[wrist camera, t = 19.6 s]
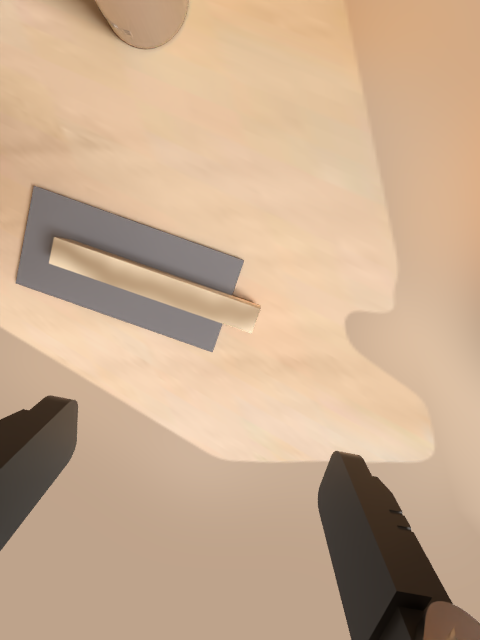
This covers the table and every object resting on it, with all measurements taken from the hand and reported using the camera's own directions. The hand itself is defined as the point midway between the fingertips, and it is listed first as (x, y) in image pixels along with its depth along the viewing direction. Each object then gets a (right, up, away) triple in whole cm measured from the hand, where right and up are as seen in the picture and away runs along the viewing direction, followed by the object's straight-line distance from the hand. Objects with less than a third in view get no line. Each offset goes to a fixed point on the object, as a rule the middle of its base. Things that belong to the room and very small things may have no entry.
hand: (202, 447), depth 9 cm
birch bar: (-8, +8, +26) cm, 28 cm away
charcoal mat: (-13, +10, +26) cm, 31 cm away
